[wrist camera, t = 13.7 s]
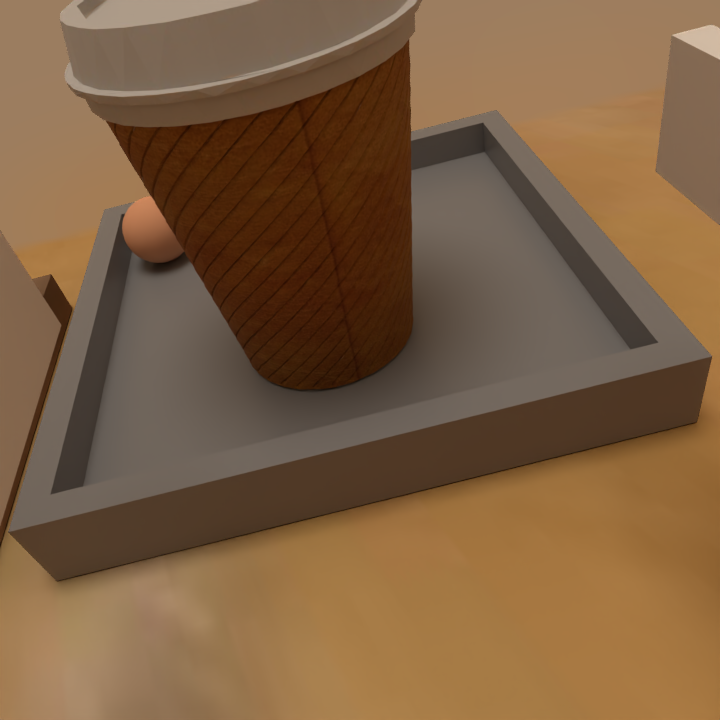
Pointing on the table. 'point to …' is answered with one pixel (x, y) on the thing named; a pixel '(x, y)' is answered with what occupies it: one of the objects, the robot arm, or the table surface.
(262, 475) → the tray
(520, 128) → the table surface
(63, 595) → the table surface
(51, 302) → the frame
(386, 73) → the disposable coffee cup
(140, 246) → the ball
